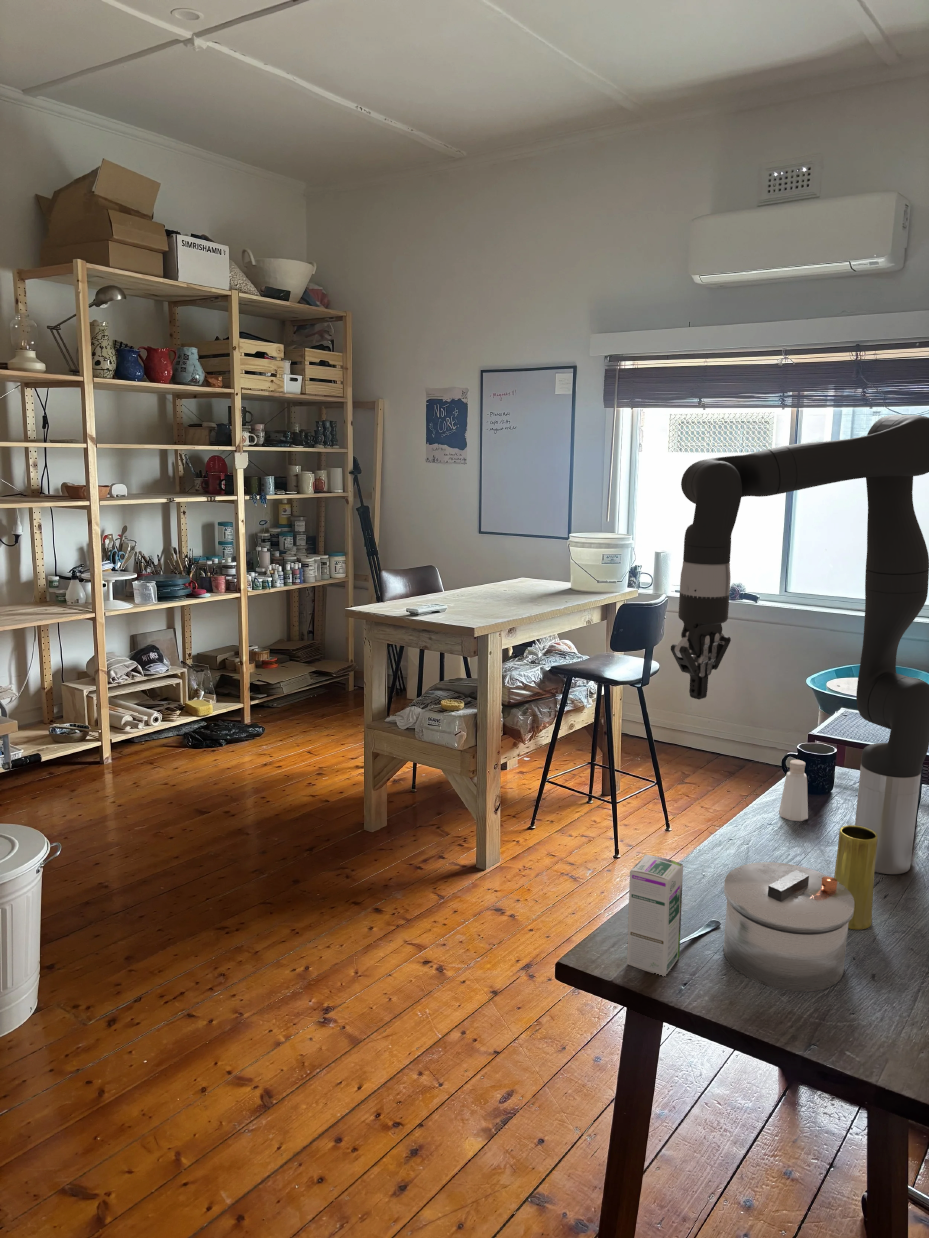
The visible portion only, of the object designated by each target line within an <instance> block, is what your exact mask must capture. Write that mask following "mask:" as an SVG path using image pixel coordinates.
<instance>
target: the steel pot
mask: <svg viewBox="0 0 929 1238" xmlns="http://www.w3.org/2000/svg"><path fill="white" fill-rule="evenodd" d="M725 909H726V911H725V924H724V939H723V940H724V941H723V954H724V956H725V959H726V960H727V961H728V963H729V964H730V965H731V966H732V967H733V968H734V969H736V970H737V972H739V973H741V974H742V975H743V976H745V977H747V978H748V979H750V980H753V981H755V982H757V983H759V984H761V985H764V986H768V987H771V988H775V989H778V990H784V991H787V992H788V991H791V992H803V993H804V992H816V991H817V992H818V991H821V990H825V989H829V988H830V987H833V986H834V985H836V984H837V983H838V982H840V980H841V979H842V977H843V974H844V971H845V970H844V969H845V962H846V961H845V959H846V953H847V952H846V950H847V941H848V931H849V929H848V923H847V924H846V925H844V926H842V927H840V928H837V929H834V930H830V931H823V932H798V931H790V930H784V929H780V928H775V927H772V926H768V925H766V924H763V923H760V922H758V921H755V920H753V919H751V918H749V917H747V916H745V915H744V914H742V913H740V912H739V911H738V910H736V909H735V908H734V907H733V906H732V905H731V904H730V903H729V902H728V900H727V899H726V908H725Z"/></svg>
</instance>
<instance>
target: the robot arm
mask: <svg viewBox="0 0 929 1238" xmlns="http://www.w3.org/2000/svg"><path fill="white" fill-rule="evenodd" d="M928 473H929V417H928V416H925V415H917V414H913V415H912V414H889V415H884V416H882V417H880V418H879V419H877V420H876V421H875V422H874V423H873V424H872V425H871V427H870V428H869V430H868V432H867V434H866V435H863V436H858V437H851V438H844V439H835V440H825V441H811V442H802V443H795V444H788V445H783V446H777V447H772V448H767V449H763V450H758V451H755V452H751V453H745V454H739V455H738V454H737V455H728V456H719V457H712V458H707V459H706V458H705V459H701V460H698V461H696V462H693V463H692V464H691V465H689V466H688V467H687V468H686V470H684V472H683V475H682V477H681V482H680V485H681V486H680V487H681V491H682V493H683V495H684V497H685V498H686V499H687V500H688V501H689V502H692V503H693V504H694V505H695V507H694V508H695V509H694V514H693V520H692V523H691V524H690V525H688V526H687V528H686V530H685V532H684V539H683V540H684V541H683V555H682V556H683V558H682V560H683V561H682V567H681V570H680V580H679V597H678V598H679V599H678V619H680V620H681V621H682V623H683V627H682V630H681V633H680V637H681V639H680V641H679V642H678V644H675V643H673V644H671V646H670V652H671V653H672V656H673V658H674V659H675V661H676V663H677V665H678V667H679V669H680V671H681V672H682V673H685V674H688V675H689V688H688V689H689V691H688V692H689V697H690V698H692V699H696V700H702V699H706V698H707V695H708V684H709V676H710V675H711V674H712V672H713V670H715V671H717V670H718V669H719V666H720V664H721V662H722V660H723V659H724V658H723V657H724V656H725V654H726V652H727V649H728V647H729V646H730V644H731V641H732V640H731V637H730V636H726V635H725V634H724V633H723V626H722V625H723V624H724V623H726V622H727V621H728V620H729V607H730V606H729V605H730V591H731V579H732V578H731V566H730V565H731V563H730V562H731V552H732V551H731V550H732V534H733V530H734V527H735V524H736V521H737V517H738V512H739V509H740V505H741V501H742V498H744V497H758V498H760V497H761V498H762V497H769V496H770V497H771V496H777V495H781V494H785V493H791V492H797V491H801V490H805V489H809V488H814V487H819V486H824V485H830V484H834V483H839V482H845V481H851V480H857V479H858V480H859V479H865V481H866V482H865V484H866V494H867V495H866V497H867V522H866V523H867V526H866V527H867V528H866V529H867V530H866V560H865V561H866V562H865V574H864V575H865V581H864V583H865V584H864V590H865V591H864V592H865V593H864V596H865V597H864V598H865V600H864V601H865V602H864V604H865V606H864V621H863V622H864V624H863V637H862V638H863V640H862V646H861V647H862V648H861V654H860V663H859V671H858V676H857V677H858V678H857V684H856V692H855V693H856V706H857V707H856V708H857V711H858V713H859V715H860V717H861V718H862V719H863V720H865V721H867V722H869V723H872V724H874V725H877V726H879V727H882V728H885V729H889V730H890V732H889V737H888V741H887V742H878V743H872V744H868V745H866V746H865V747H864V748H862V749H863V750H862V753H861V759H860V760H861V761H860V769H859V771H860V772H859V781H858V790H857V791H858V792H857V799H856V810H855V811H856V812H855V820H854V825H855V826H862V827H865V828H868V829H870V830H872V831H874V832H875V833H876V834H877V835H878V841H877V851H876V861H875V872H874V873H877V874H879V873H880V874H883V875H884V874H886V875H901V874H904V873H907V872H908V871H909V870H910V869H911V865H912V864H911V863H912V854H913V846H914V838H915V828H916V820H917V812H918V803H919V796H920V795H919V794H920V787H921V785H920V784H921V777H922V776H921V775H922V769H923V763H924V761H925V759H926V757H927V754H928V751H929V683H928V682H926V681H923V680H920V679H917V678H915V677H910V676H906V675H904V674H899V673H898V672H897V654H898V650H899V649H898V647H899V644H900V642H901V639H902V637H903V636H904V635H905V633H906V631H907V630H908V628H909V627H910V626H911V624H912V623H913V622H914V621H915V619H916V618H917V617H918V615H919V613H920V612H921V611H922V609H923V608H924V606H925V604H926V602H927V598H928V594H929V593H928V592H929V552H928V547H927V544H926V541H925V537H924V535H923V531H922V528H921V526H920V524H919V522H918V518H917V515H916V512H915V507H914V499H913V496H914V495H913V491H914V490H913V487H914V477H918V476H919V477H920V476H923V475H927V474H928Z"/></svg>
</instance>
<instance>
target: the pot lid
mask: <svg viewBox="0 0 929 1238" xmlns="http://www.w3.org/2000/svg"><path fill="white" fill-rule="evenodd" d="M723 885H724V886H723V889H724V890H723V892H724V893H723V895H724V896H725V898H726V901H727V900H728V902H729V903H730V904H731V905H732V906H733V907H734V908H735V909H736V910H738V911H739V912H740V913H742V914H744V915H745V916H747V917H749V918H751V919H753V920H755V921H758V922H760V923H763V924H766V925H768V926H772V927H775V928H780V929H784V930H790V931H798V932H823V931H830V930H834V929H837V928H840V927H842V926H844V925H846V924H847V923H848V922H849V921H850V920H851V919H852V917H853V913H854V898H853V896H852V894H851V893H850V892H849V890H848V889H847V888H846V887H844V886H843V885H842V884H841V883H839V882H838V881H837V880H836V879H835V878H834V877H832V876H828V875H827V874H824V873H823V872H820V871H817V870H814V869H811V868H808V867H804V866H801V865H797V864H796V865H795V864H791V863H783V862H770V861H769V862H768V861H765V862H762V861H761V862H751V863H748V864H747V863H746V864H743V865H740V866H738V867H735V868H734V869H732V870H730V871H729V872H728V873H727V875H726V876H725V878H724V883H723Z"/></svg>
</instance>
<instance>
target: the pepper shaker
mask: <svg viewBox="0 0 929 1238" xmlns="http://www.w3.org/2000/svg"><path fill="white" fill-rule="evenodd" d="M805 768H806V762H805V761H803V760H800V759H791V760H790V761H789V771H787V772H786V775H785V779H784V784H783V790H782V796H781V799H780V805H779V810H778V812H779V815H780V816H779V817H781V818H783V819H786V820H788V821H791V822H792V821H794V822H795V821H796V822H803V821H806V820H808V818H809V811H808V810H809V809H808V808H809V806H808V805H809V804H808V802H809V799H808V776H807V773H805Z"/></svg>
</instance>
